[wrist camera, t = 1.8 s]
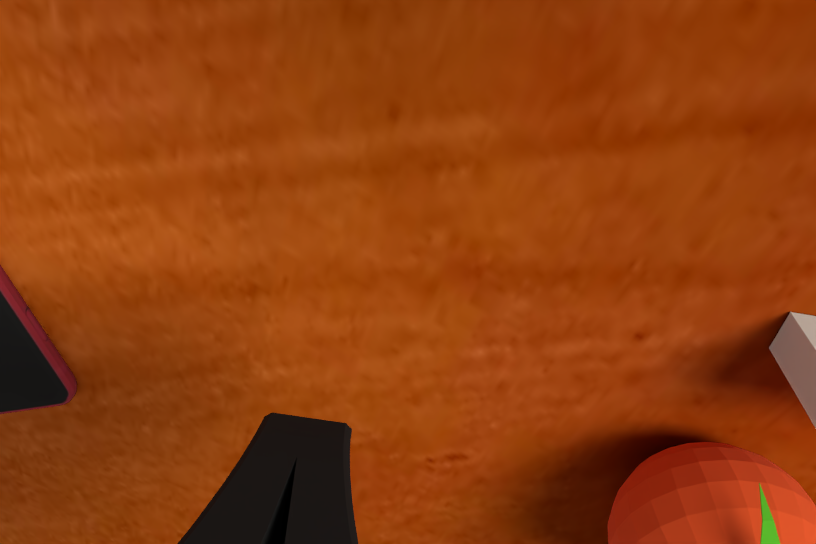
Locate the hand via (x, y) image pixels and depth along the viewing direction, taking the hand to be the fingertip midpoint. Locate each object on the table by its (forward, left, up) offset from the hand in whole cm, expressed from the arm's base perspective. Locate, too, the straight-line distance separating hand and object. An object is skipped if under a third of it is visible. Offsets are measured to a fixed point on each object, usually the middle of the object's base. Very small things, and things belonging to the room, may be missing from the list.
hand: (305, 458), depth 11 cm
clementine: (-9, -13, -10) cm, 19 cm away
